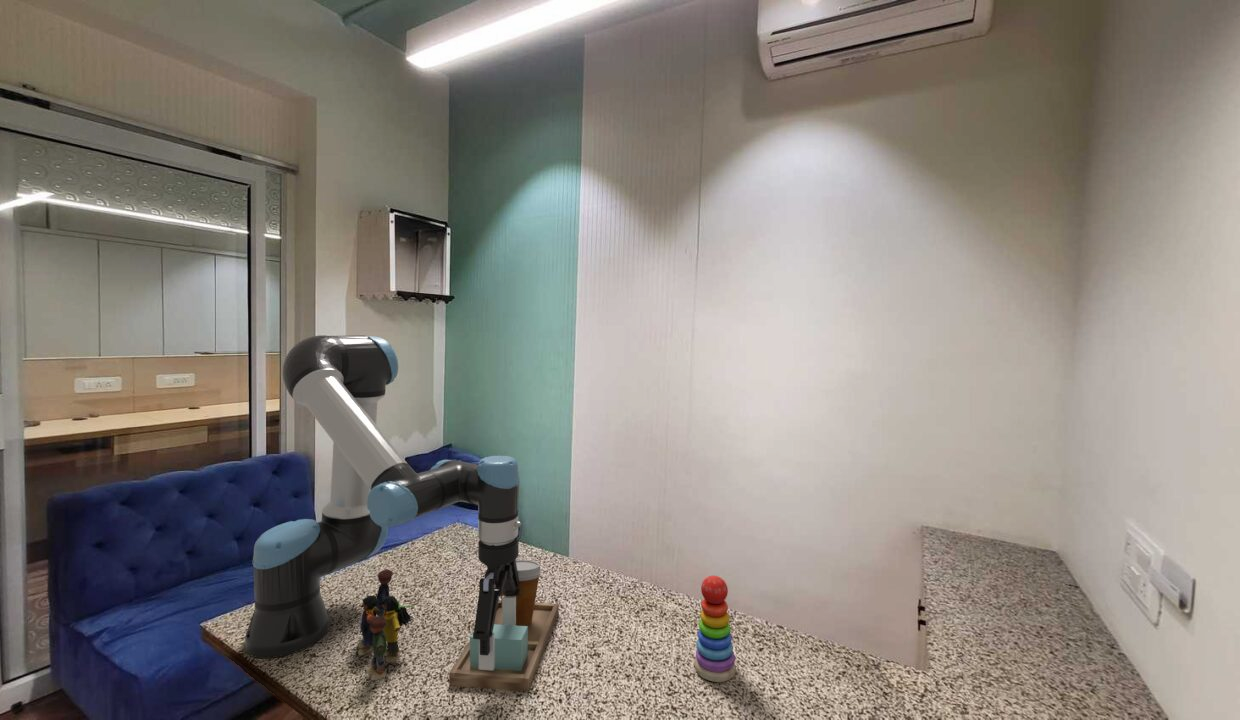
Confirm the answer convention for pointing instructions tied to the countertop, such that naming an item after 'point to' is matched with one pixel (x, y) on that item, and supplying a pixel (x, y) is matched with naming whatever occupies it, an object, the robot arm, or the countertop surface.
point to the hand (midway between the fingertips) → (498, 646)
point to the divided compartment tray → (510, 679)
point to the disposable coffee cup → (526, 590)
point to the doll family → (382, 626)
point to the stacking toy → (714, 634)
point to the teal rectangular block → (504, 647)
